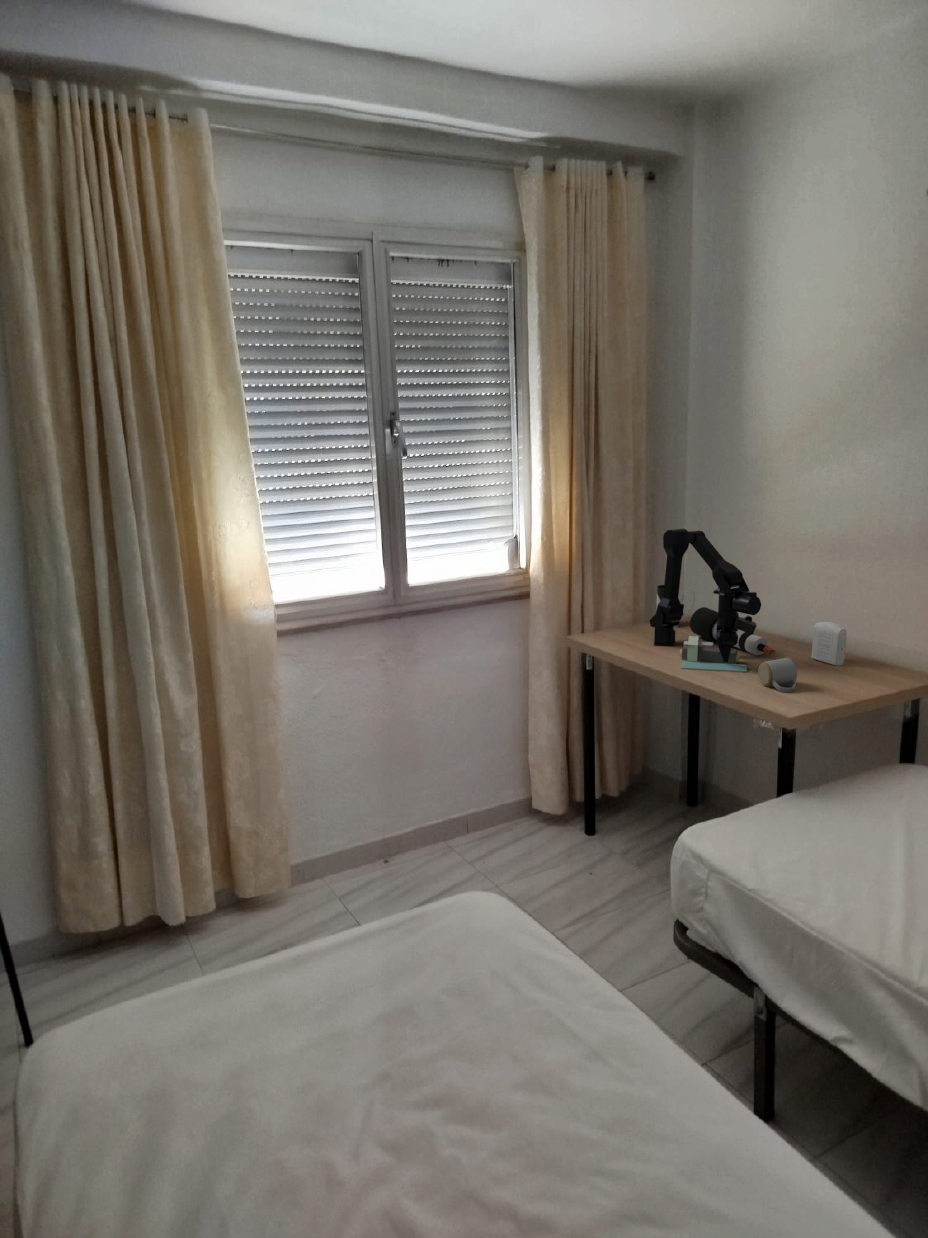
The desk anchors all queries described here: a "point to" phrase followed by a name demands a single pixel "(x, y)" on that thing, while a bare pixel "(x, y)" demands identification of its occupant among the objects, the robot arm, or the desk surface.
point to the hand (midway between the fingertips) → (725, 658)
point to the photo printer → (829, 643)
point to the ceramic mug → (778, 674)
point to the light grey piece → (692, 648)
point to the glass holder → (660, 595)
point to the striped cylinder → (706, 627)
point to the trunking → (701, 644)
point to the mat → (714, 666)
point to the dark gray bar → (711, 655)
